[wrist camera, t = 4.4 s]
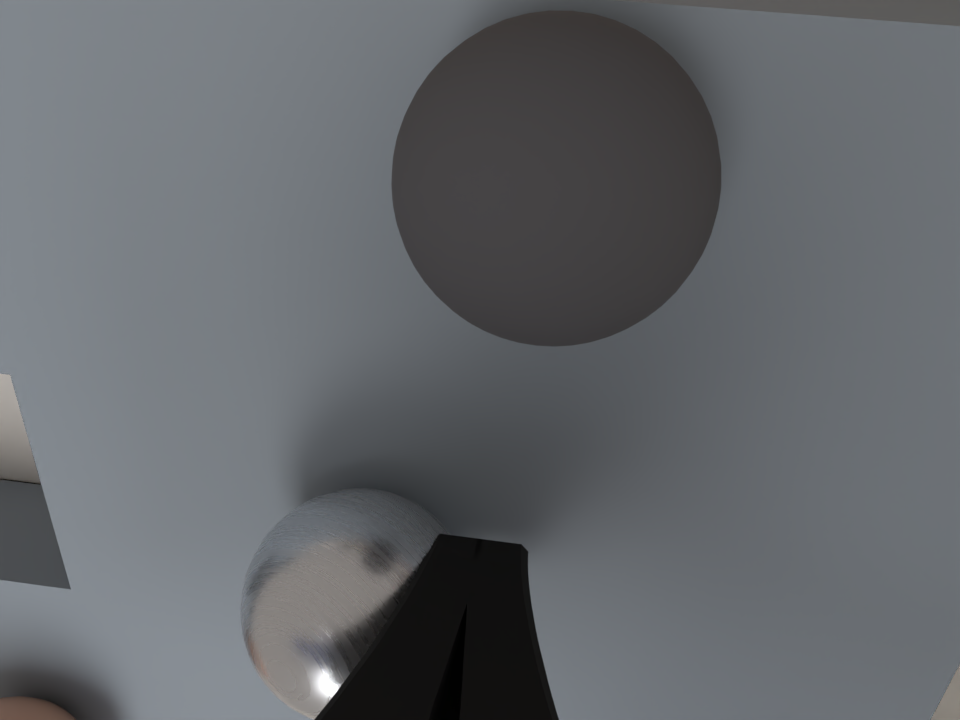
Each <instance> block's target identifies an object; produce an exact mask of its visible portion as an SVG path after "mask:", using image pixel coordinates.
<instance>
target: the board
mask: <svg viewBox="0 0 960 720" xmlns="http://www.w3.org/2000/svg"><path fill="white" fill-rule="evenodd" d="M549 10H553V11H578V12H584V13H591V14H596V15H600V16H603V17H606V18H610V19H613V20H616V21H619V22H621V23H623V24H625V25H627V26H629V27H632V28H634V29H636V30H638V31H639V32H641V33H642V34H644V35H646V36H647V37H649V38H650V39H652V40H653V41H655V42H656V43H657V44H659V45H660V46H661V47H662V48H663V49H664V50H665V51H667V52H668V53H669V54H670V55H671V56H672V57H673V58H674V59H675V60H676V61H677V62H678V64H679V65H680V66H681V67H682V68H683V69H684V70H685V72H686V73H687V74H688V75H689V77H690V78H691V80H692V81H693V83H694V84H695V86H696V88H697V89H698V91H699V92H700V94H701V95H702V97H703V99H704V102H705V104H706V106H707V108H708V110H709V113H710V115H711V118H712V121H713V124H714V128H715V131H716V135H717V139H718V146H719V153H720V160H721V193H720V200H719V207H718V211H717V215H716V219H715V222H714V226H713V230H712V233H711V236H710V238H709V241H708V243H707V245H706V248H705V250H704V252H703V254H702V256H701V258H700V259H699V261H698V263H697V264H696V266H695V268H694V269H693V271H692V272H691V274H690V275H689V276H688V278H687V279H686V280H685V281H684V283H683V284H682V285H681V286H680V288H679V289H678V290H677V292H676V293H675V294H674V295H673V296H672V297H671V298H670V299H669V300H667V301H666V302H665V303H664V304H663V305H662V306H661V307H660V308H659V309H657V310H656V311H655V312H653V313H652V314H651V315H649V316H648V317H647V318H645V319H643V320H642V321H640V322H638V323H636V324H635V325H633V326H631V327H630V328H628V329H626V330H623V331H621V332H619V333H616V334H614V335H612V336H609V337H607V338H603V339H600V340H597V341H593V342H589V343H584V344H578V345H572V346H556V347H553V346H535V345H529V344H523V343H517V342H514V341H510V340H507V339H503V338H500V337H498V336H495V335H493V334H490V333H488V332H486V331H483V330H481V329H480V328H478V327H476V326H474V325H472V324H471V323H469V322H467V321H466V320H464V319H463V318H462V317H460V316H459V315H458V314H456V313H455V312H453V311H452V310H451V309H450V308H449V307H448V306H447V305H446V304H445V303H443V302H442V301H441V300H440V299H439V298H438V297H437V296H436V295H435V294H434V292H433V291H432V290H431V289H430V288H429V287H428V285H427V284H426V283H425V282H424V281H423V279H422V278H421V276H420V275H419V273H418V272H417V270H416V269H415V267H414V265H413V263H412V261H411V259H410V257H409V255H408V253H407V251H406V249H405V247H404V244H403V241H402V238H401V235H400V232H399V229H398V226H397V223H396V218H395V213H394V208H393V201H392V187H391V181H392V165H393V154H394V149H395V144H396V139H397V135H398V132H399V130H400V127H401V124H402V121H403V118H404V116H405V113H406V111H407V109H408V107H409V105H410V103H411V101H412V99H413V97H414V96H415V94H416V92H417V90H418V89H419V87H420V86H421V84H422V83H423V81H424V80H425V79H426V77H427V76H428V74H429V73H430V72H431V71H432V70H433V69H434V68H435V67H436V65H437V64H438V63H439V62H440V61H441V60H442V59H443V58H444V57H445V56H446V55H447V54H449V53H450V52H451V51H452V50H454V49H455V48H456V47H457V46H458V45H460V44H461V43H462V42H463V41H465V40H466V39H468V38H469V37H471V36H473V35H474V34H476V33H478V32H479V31H481V30H482V29H484V28H486V27H489V26H491V25H493V24H496V23H498V22H500V21H502V20H505V19H508V18H512V17H516V16H519V15H523V14H526V13H534V12H541V11H549ZM0 373H1V374H9V375H10V376H11V379H12V383H13V386H14V390H15V393H16V397H17V400H18V404H19V407H20V411H21V414H22V418H23V422H24V425H25V429H26V432H27V436H28V439H29V443H30V446H31V450H32V453H33V457H34V460H35V464H36V467H37V471H38V474H39V478H40V482H41V485H38V484H30V483H22V482H14V481H6V480H0V698H2V697H13V696H25V697H34V698H39V699H43V700H46V701H49V702H52V703H54V704H56V705H58V706H60V707H61V708H63V709H65V710H66V711H67V712H69V713H70V714H71V715H72V716H73V717H74V718H75V719H76V720H312V719H310V718H308V717H306V716H304V715H302V714H300V713H298V712H296V711H294V710H292V709H291V708H289V707H288V706H286V705H285V704H284V703H283V702H281V701H280V700H279V699H278V698H277V697H276V696H275V695H274V694H273V693H272V692H271V691H270V690H269V689H268V688H267V687H266V685H265V684H264V683H263V681H262V680H261V679H260V677H259V676H258V674H257V672H256V671H255V669H254V667H253V665H252V663H251V661H250V658H249V655H248V653H247V650H246V647H245V644H244V640H243V636H242V628H241V619H240V606H241V595H242V589H243V585H244V580H245V577H246V573H247V570H248V568H249V565H250V563H251V561H252V558H253V556H254V554H255V553H256V551H257V549H258V547H259V546H260V544H261V543H262V541H263V539H264V538H265V537H266V536H267V535H268V533H269V532H270V531H271V530H272V529H273V528H274V526H275V525H276V524H277V523H278V522H279V521H280V520H281V519H283V518H284V517H285V516H286V515H287V514H288V513H290V512H291V511H292V510H294V509H295V508H297V507H298V506H300V505H302V504H303V503H305V502H307V501H309V500H311V499H313V498H316V497H318V496H321V495H323V494H326V493H330V492H334V491H339V490H343V489H355V488H369V489H377V490H383V491H388V492H392V493H395V494H397V495H400V496H403V497H405V498H407V499H409V500H411V501H413V502H415V503H417V504H418V505H420V506H422V507H423V508H425V509H426V510H427V511H428V512H430V513H431V514H432V515H433V516H434V517H435V518H436V519H438V520H439V521H440V523H441V524H442V525H443V526H444V527H445V528H446V529H447V531H448V532H449V533H450V535H455V536H462V537H470V538H478V539H486V540H493V541H501V542H509V543H516V544H522V545H523V546H524V547H525V548H526V550H527V551H528V577H529V588H530V596H531V604H532V610H533V616H534V622H535V627H536V632H537V637H538V642H539V647H540V651H541V655H542V659H543V663H544V667H545V671H546V675H547V679H548V683H549V687H550V691H551V694H552V698H553V701H554V705H555V708H556V712H557V715H558V718H559V720H931V718H932V716H933V714H934V712H935V710H936V708H937V706H938V704H939V703H940V701H941V699H942V697H943V695H944V693H945V691H946V689H947V687H948V685H949V683H950V682H951V680H952V678H953V676H954V674H955V672H956V670H957V668H958V666H959V664H960V0H0Z"/></svg>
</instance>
